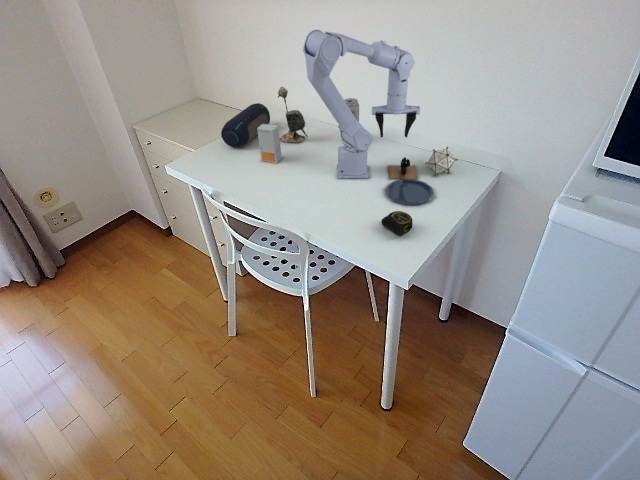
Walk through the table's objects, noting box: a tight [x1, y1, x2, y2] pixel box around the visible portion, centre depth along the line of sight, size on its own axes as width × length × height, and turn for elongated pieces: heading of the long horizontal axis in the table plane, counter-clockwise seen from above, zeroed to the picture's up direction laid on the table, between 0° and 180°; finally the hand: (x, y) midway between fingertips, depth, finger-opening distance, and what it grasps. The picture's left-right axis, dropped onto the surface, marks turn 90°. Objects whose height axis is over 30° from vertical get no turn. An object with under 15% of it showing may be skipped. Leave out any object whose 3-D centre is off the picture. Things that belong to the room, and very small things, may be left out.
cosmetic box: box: [257, 123, 282, 164], centre depth 135 cm, size 6×4×12 cm
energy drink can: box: [344, 97, 360, 123], centre depth 144 cm, size 6×6×15 cm
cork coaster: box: [388, 164, 418, 180], centre depth 128 cm, size 8×8×1 cm
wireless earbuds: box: [400, 156, 411, 175], centre depth 126 cm, size 7×2×5 cm, turn 175°
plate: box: [386, 179, 434, 207], centre depth 118 cm, size 13×13×1 cm
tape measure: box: [381, 210, 413, 238], centre depth 104 cm, size 7×7×4 cm
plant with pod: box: [277, 86, 309, 143], centre depth 145 cm, size 8×11×20 cm
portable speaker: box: [220, 102, 271, 148], centre depth 152 cm, size 25×10×10 cm, turn 159°
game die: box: [424, 146, 459, 177], centre depth 125 cm, size 9×8×10 cm
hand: (393, 135), depth 128 cm, fingers open, 7 cm apart
